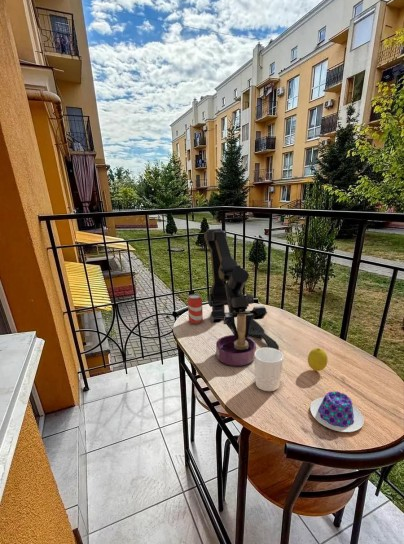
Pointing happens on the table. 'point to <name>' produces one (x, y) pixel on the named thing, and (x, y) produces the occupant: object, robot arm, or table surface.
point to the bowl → (227, 351)
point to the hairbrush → (261, 334)
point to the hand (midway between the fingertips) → (242, 338)
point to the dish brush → (241, 335)
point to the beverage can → (195, 309)
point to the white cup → (268, 368)
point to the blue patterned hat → (337, 412)
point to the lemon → (317, 359)
